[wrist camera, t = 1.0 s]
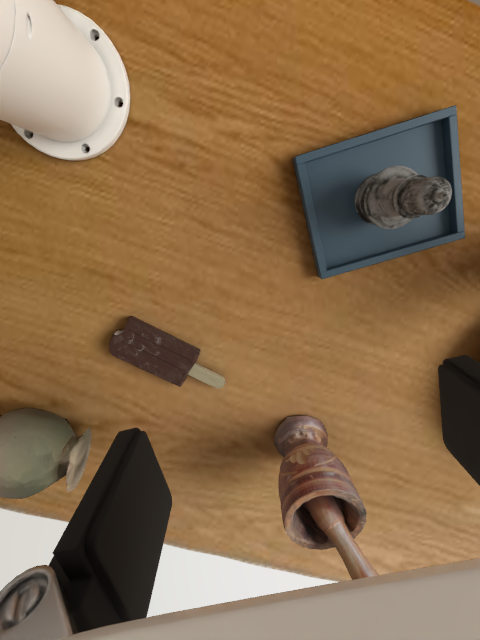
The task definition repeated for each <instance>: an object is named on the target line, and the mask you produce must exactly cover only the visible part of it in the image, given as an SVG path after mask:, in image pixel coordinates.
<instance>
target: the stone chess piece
mask: <svg viewBox="0 0 480 640" xmlns="http://www.w3.org/2000/svg"><path fill="white" fill-rule="evenodd" d="M451 195H452V188H451V185H450V183H449V182H448V181H447V180H446V179H444V178H441V177H429V178H428V177H426V176H424V175H418V174H417V173H416V172H415V171H414V170H412V169H411V168H408V167H405V166H392V167H388V168H386V169H384V170H382V171H381V172H379V173H377V174H373V175H371V176H370V177H368V178H366V179H365V180H364V181H363V182H362V183H361V185H360V186H359V188H358V190H357V193H356V195H355V209H356V211H357V214H358V215H359V216H360V218H361V219H362V220H364V221H365V222H367V223H370V224H375V225H376V226H378V227H380V228H384V229H396V228H399V227H402V226H404V225H406V224H408V223H409V222H410V221H411V220H412V219H414V218H418V217H420V216H422V215H432V214H436V213H438V212H440V211H442V210H443V209H444V208H445V207H446V206H447V205H448V203H449V201H450V199H451Z"/></svg>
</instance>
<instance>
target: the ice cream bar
mask: <svg viewBox="0 0 480 640" xmlns="http://www.w3.org/2000/svg"><path fill="white" fill-rule="evenodd" d="M109 351H110V353H111V354H112V355H113V356H115V357H117V358H119V359H121V360H123V361H126V362H128V363H130V364H132V365H134V366H136V367H138V368H141V369H143V370H145V371H147V372H149V373H151V374H154V375H156V376H158V377H160V378H162V379H164V380H167V381H169V382H171V383H173V384H175V385H177V386H179V387H181V385H182V384H183V382H184V381H185V379H186V377H187V375H190V376H192V377H194V378H196V379H198V380H200V381H202V382H204V383H206V384H209V385H211V386H213V387H215V388H222V387H223V386H224V385H225V378H224V377H223V376H221V375H219V374H217V373H215V372H213V371H211V370H209V369H207V368H205V367H203V366H201V365H199V364H196V363H195V362H196V361H197V358H198V356H199V353H200V349H198V348H196V347H194V346H192V345H190V344H188V343H186V342H184V341H182V340H180V339H178V338H176V337H174V336H172V335H170V334H168V333H165V332H163V331H161V330H159V329H157V328H155V327H153V326H151V325H149V324H147V323H145V322H143V321H141V320H139V319H137V318H135V317H133V316H131V317H129V318H128V319H127V324H126V327H125V329H124V330H121V331H120V330H117V331H116V332H115V333H114V334H113V336H112V338H111V340H110V343H109Z"/></svg>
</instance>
